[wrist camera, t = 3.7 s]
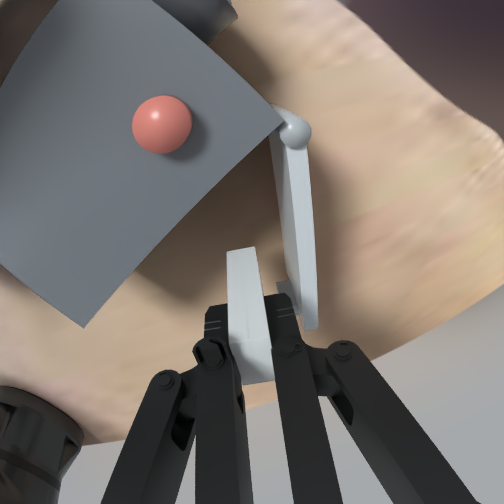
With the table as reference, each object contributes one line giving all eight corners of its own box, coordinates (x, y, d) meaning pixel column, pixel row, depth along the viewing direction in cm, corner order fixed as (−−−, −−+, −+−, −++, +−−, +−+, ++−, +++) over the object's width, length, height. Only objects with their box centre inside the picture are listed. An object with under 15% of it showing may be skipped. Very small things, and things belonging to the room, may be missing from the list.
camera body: (118, 260, 21) (83, 341, 14) (13, 172, 17) (-58, 222, 10) (295, 82, 16) (342, 86, 9) (168, -31, 12) (134, -88, 5)
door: (247, 107, 16) (258, 122, 11) (281, 102, 16) (309, 115, 11) (273, 274, 22) (288, 342, 17) (300, 269, 22) (322, 335, 17)
